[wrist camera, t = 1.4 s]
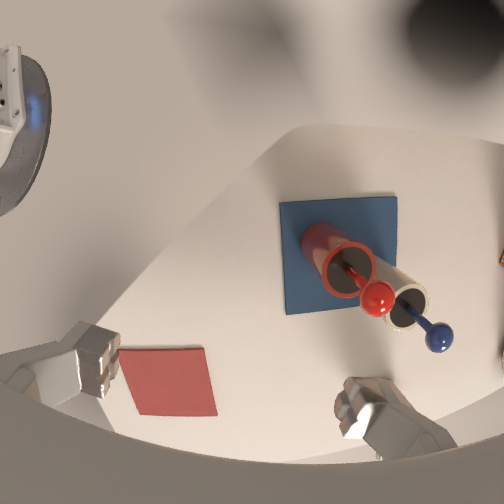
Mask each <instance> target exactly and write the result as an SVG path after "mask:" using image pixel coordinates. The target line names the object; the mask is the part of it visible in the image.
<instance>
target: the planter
mask: <svg viewBox="0 0 504 504" xmlns="http://www.w3.org/2000/svg"><path fill="white" fill-rule="evenodd" d="M502 369H503V372H504V352H503V355H502Z"/></svg>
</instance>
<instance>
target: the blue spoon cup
mask: <svg viewBox="0 0 504 504" xmlns="http://www.w3.org/2000/svg"><path fill="white" fill-rule="evenodd" d="M374 256H375V255H374ZM375 259H376V274H375V277H374V280H384V281H386V282H387V283H389V284H390V285H391V286H392V288H393V289H394V292H395V303H394V306H393V308H392V309H391V311H390V312H389V313H387V314H386V315H384V316H381V317H382V319H383V320H384V321H385V322H386V323H387V324H388V325H389V327H390V328H392V329H393V330H396V331H406V330H409V329H411V328H413V327H415V326H416V325H417V324H419V325H420V326H421V327H422V328H423V329H424V330H425V331H426V336H425V342H426V345H427V347H428V349H429V350H431V351H432V352H435V353H442V352H444V351H446V350H447V349H449V347H450V346H451V344H452V342H453V338H454V334H453V330H452V328H451V327H450V326H449V325H448V324H446V323H443V322H438V323H435V324H431V323H430V322H429V321H428V320H427V319H426V318H425V317H424V316H425V314H426V312H427V309H428V305H429V297H428V293H427V291H426V289H425V288H424V287H423V286H421V285H420V284H419V283H417V282H416V281H414V280H413V279H412V278H410V277H409V276H407V275H406V274H404V273H403V272H402V271H400V270H399V269H397V268H396V267H394V266H393V265H391V264H390V263H389V262H387V261H386V260H384V259H383V258H381V257H379V256H375Z"/></svg>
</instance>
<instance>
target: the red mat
mask: <svg viewBox="0 0 504 504" xmlns="http://www.w3.org/2000/svg"><path fill="white" fill-rule="evenodd" d="M117 350H118V352H119V353H120V364H121V367H122V370H123V373H124V376H125V378H126V381H127V384H128V386H129V389H130V392H131V394H132V397H133V399H134V402H135V404H136V406H137V409H138V411H139V414H140V415H154V416H217V410H216V405H215V401H214V396H213V392H212V387H211V382H210V378H209V373H208V368H207V363H206V358H205V353H204V348H193V349H152V350H129V349H117Z"/></svg>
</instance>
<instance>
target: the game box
mask: <svg viewBox="0 0 504 504" xmlns="http://www.w3.org/2000/svg"><path fill="white" fill-rule="evenodd" d="M500 264H501V265H503V266H504V252H503V255H502V257H501V260H500Z"/></svg>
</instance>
